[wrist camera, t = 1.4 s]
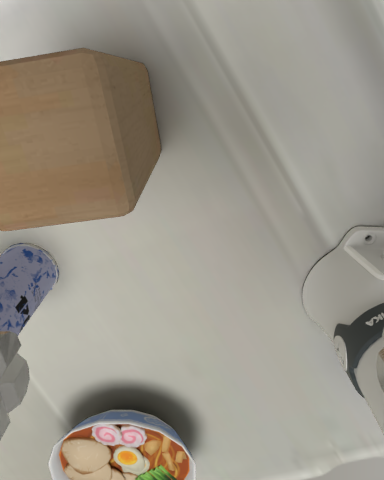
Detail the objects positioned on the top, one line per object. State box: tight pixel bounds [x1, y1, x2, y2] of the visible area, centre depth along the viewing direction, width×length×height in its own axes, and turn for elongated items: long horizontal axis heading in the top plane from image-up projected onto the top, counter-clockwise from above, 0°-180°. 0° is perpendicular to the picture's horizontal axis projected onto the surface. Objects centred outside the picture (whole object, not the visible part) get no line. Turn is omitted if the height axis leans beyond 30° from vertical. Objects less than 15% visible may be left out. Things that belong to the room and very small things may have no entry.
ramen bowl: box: [48, 410, 196, 480], centre depth 57 cm, size 25×23×8 cm
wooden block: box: [0, 48, 161, 231], centre depth 30 cm, size 10×10×20 cm
